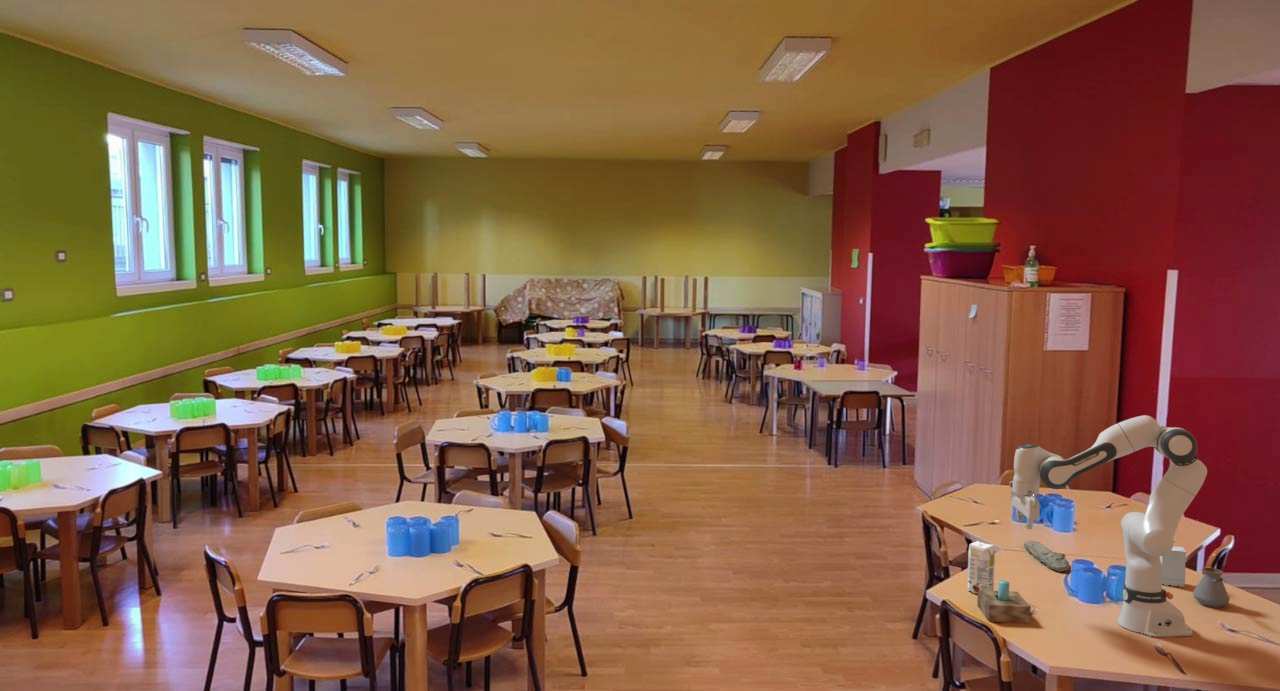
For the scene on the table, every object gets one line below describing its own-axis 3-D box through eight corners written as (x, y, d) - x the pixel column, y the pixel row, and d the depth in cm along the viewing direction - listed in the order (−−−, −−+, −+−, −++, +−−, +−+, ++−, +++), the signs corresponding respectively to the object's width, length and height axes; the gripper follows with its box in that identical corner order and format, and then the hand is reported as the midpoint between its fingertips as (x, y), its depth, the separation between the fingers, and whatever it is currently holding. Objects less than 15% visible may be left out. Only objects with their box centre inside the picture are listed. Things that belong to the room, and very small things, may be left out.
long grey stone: (1040, 549, 387) (1018, 550, 388) (1040, 537, 387) (1017, 538, 388) (1076, 572, 352) (1051, 573, 353) (1075, 560, 352) (1051, 561, 353)
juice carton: (985, 597, 327) (987, 549, 325) (964, 591, 334) (966, 543, 332) (995, 592, 332) (997, 545, 330) (974, 586, 338) (976, 539, 337)
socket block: (1016, 607, 318) (1017, 591, 317) (1029, 622, 304) (1030, 606, 303) (977, 605, 319) (977, 590, 319) (988, 621, 305) (989, 605, 305)
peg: (1006, 612, 313) (1007, 580, 312) (1009, 616, 310) (1010, 584, 309) (996, 612, 314) (997, 580, 312) (999, 616, 310) (1000, 583, 309)
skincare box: (1182, 583, 342) (1184, 546, 340) (1185, 588, 336) (1187, 551, 335) (1157, 580, 345) (1160, 544, 344) (1160, 585, 340) (1162, 548, 338)
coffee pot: (1189, 595, 329) (1192, 557, 327) (1225, 600, 324) (1228, 562, 323) (1200, 616, 309) (1203, 576, 308) (1238, 622, 305) (1241, 581, 303)
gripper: (1045, 495, 304) (1043, 533, 305) (1025, 481, 324) (1023, 517, 325) (1026, 495, 304) (1025, 533, 306) (1008, 480, 325) (1006, 516, 326)
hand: (1024, 524), depth 316 cm, fingers open, 8 cm apart
